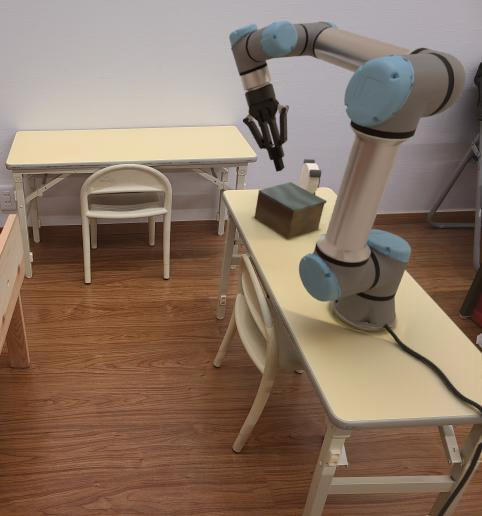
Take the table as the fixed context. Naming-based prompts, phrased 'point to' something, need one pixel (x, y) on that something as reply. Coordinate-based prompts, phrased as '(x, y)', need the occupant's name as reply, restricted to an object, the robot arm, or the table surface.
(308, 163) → the panda figurine
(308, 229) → the chest
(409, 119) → the robot arm
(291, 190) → the lid
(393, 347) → the table surface
